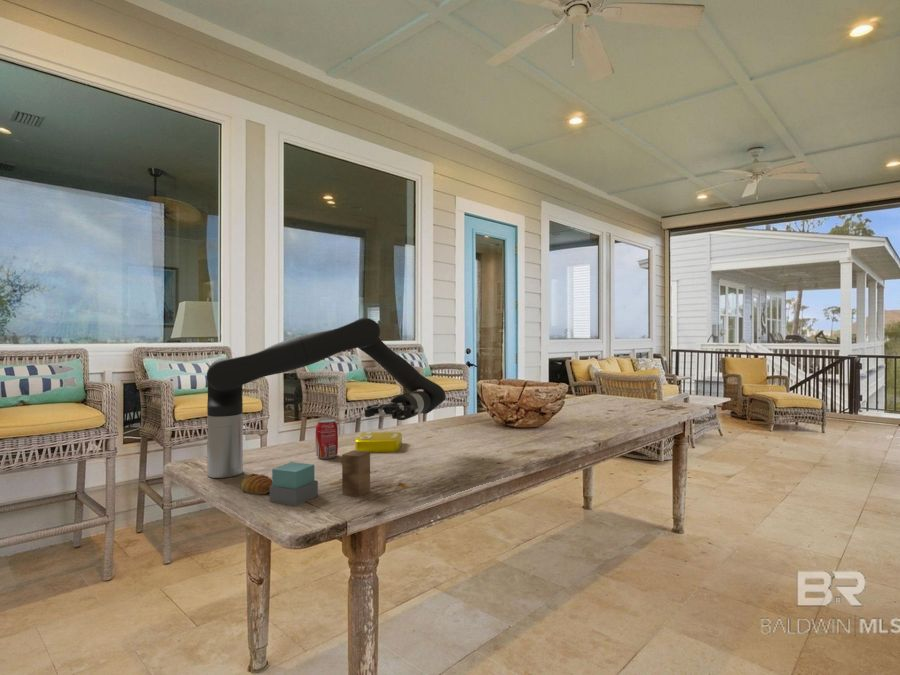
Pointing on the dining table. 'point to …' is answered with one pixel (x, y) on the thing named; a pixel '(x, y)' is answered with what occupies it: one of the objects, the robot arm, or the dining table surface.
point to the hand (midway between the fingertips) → (379, 414)
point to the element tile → (379, 442)
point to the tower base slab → (293, 494)
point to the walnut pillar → (355, 473)
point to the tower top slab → (293, 475)
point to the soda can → (326, 438)
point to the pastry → (256, 484)
